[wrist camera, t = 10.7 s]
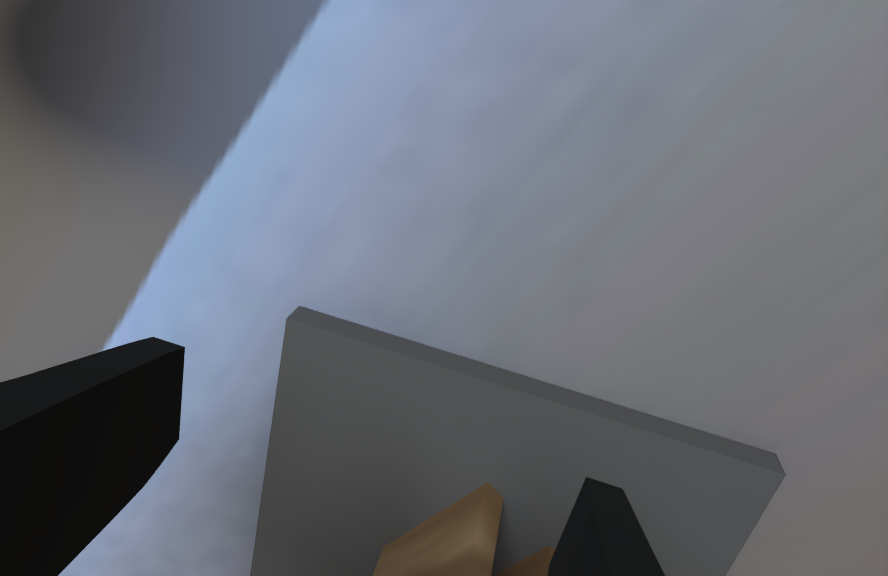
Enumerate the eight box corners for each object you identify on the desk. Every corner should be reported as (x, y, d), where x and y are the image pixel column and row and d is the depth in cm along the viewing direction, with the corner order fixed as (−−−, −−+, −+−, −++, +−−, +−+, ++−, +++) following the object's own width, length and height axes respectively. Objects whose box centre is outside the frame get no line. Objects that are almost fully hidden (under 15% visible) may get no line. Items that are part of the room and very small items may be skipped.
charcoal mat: (776, 453, 19) (786, 474, 18) (622, 720, 25) (623, 746, 24) (299, 306, 21) (286, 318, 20) (256, 589, 27) (245, 609, 26)
